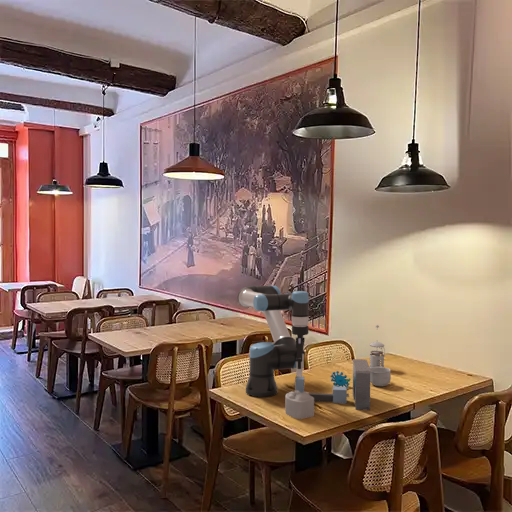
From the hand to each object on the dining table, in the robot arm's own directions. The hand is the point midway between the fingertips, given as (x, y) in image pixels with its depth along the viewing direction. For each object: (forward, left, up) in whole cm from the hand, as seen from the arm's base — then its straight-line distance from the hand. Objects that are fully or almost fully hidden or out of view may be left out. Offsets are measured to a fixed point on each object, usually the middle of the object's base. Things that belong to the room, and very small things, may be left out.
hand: (300, 371), depth 225 cm
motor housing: (+27, 0, -13) cm, 30 cm away
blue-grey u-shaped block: (+10, 0, -13) cm, 16 cm away
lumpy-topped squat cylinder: (0, -17, -13) cm, 22 cm away
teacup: (+39, +30, -13) cm, 51 cm away
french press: (+41, +60, -13) cm, 74 cm away
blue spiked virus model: (+19, +22, -13) cm, 32 cm away
